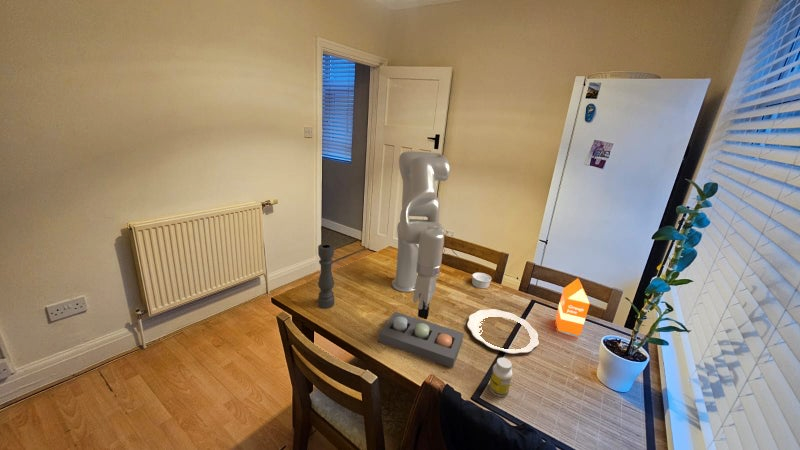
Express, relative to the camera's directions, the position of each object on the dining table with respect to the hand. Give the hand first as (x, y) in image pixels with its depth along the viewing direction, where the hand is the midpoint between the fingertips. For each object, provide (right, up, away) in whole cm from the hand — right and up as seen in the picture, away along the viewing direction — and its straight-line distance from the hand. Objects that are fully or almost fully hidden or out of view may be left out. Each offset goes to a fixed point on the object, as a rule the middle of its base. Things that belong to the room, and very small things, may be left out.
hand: (422, 316), depth 105 cm
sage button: (0, -7, +2) cm, 7 cm away
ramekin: (+31, +2, +45) cm, 54 cm away
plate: (+30, -9, +11) cm, 33 cm away
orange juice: (+57, -9, +16) cm, 60 cm away
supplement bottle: (+21, -17, -14) cm, 31 cm away
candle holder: (-37, -1, +20) cm, 42 cm away
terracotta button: (+7, -10, 0) cm, 12 cm away
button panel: (0, -9, +3) cm, 10 cm away
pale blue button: (-8, -5, +5) cm, 10 cm away
